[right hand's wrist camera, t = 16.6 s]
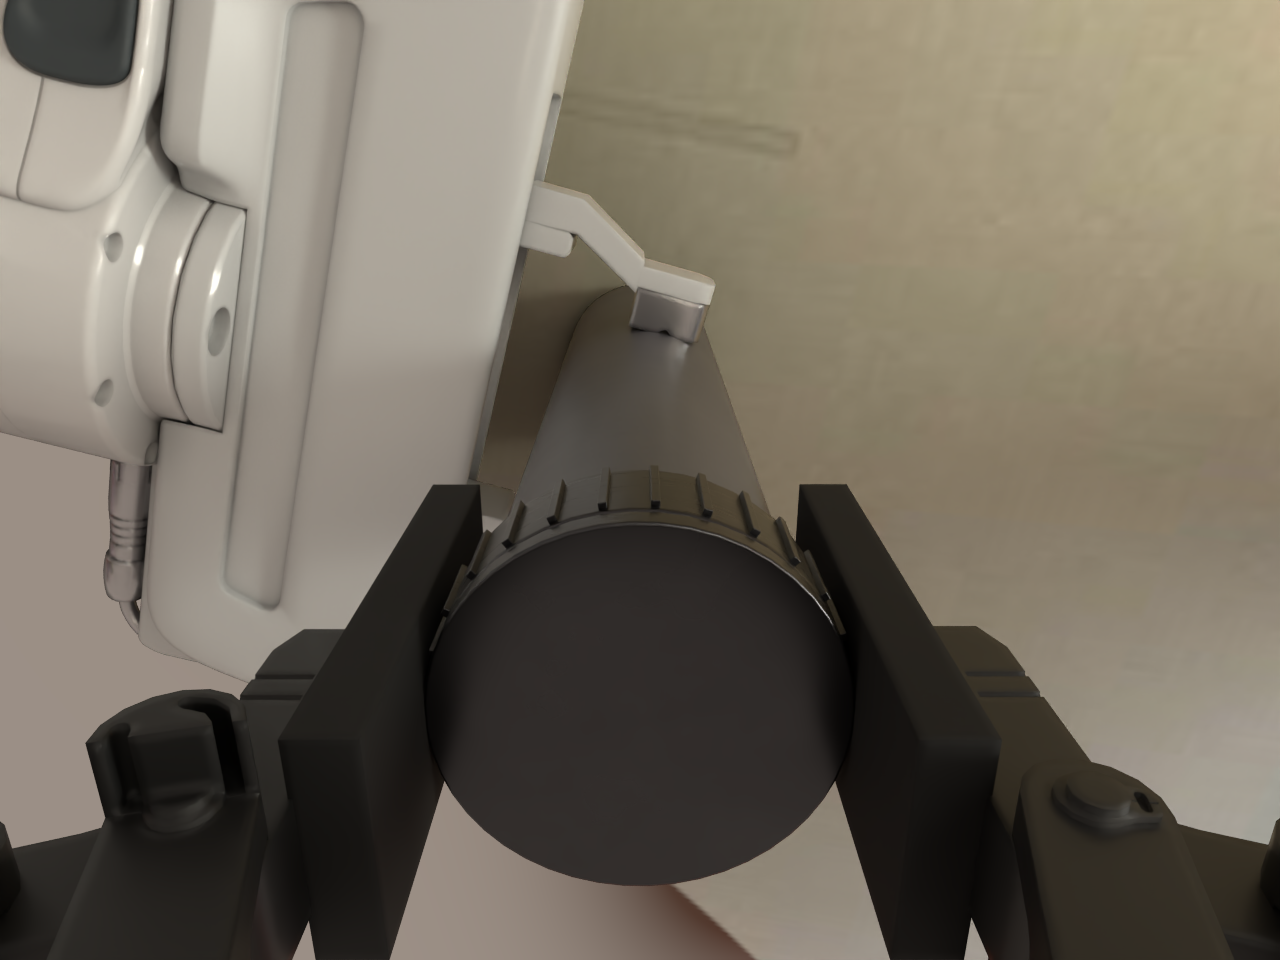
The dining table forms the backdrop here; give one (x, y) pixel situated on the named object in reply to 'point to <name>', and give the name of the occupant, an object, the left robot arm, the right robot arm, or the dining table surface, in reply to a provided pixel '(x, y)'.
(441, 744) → the lid
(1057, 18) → the dining table surface
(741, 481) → the dark gray cylinder
